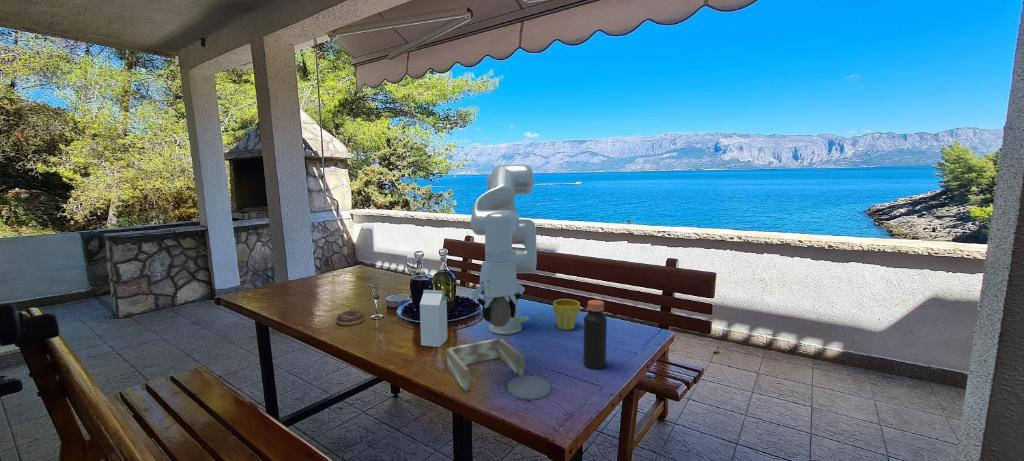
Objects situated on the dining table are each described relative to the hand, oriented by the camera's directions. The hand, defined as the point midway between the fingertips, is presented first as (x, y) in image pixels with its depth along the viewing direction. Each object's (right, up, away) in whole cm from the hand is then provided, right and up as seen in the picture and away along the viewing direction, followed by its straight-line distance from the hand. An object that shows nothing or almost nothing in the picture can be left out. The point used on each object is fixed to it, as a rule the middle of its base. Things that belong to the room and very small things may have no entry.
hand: (499, 317), depth 116 cm
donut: (-62, -13, +49) cm, 80 cm away
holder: (-5, -17, +6) cm, 19 cm away
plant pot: (+25, -13, +42) cm, 51 cm away
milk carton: (-24, -15, +28) cm, 39 cm away
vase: (0, -2, 0) cm, 2 cm away
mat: (+8, -19, -4) cm, 21 cm away
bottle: (+29, -17, +10) cm, 35 cm away
